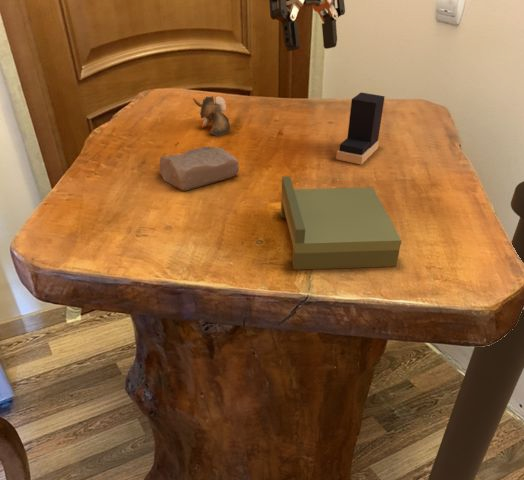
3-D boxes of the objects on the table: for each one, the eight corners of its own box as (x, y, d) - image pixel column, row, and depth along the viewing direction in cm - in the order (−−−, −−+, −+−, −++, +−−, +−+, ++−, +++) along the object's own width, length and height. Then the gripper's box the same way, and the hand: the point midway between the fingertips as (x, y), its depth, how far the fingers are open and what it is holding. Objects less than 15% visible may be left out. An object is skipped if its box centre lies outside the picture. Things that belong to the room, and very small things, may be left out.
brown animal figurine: (184, 117, 115) (192, 123, 107) (199, 84, 113) (209, 87, 105) (215, 135, 118) (226, 142, 111) (231, 103, 116) (242, 108, 109)
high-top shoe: (353, 143, 108) (359, 92, 102) (377, 148, 106) (385, 96, 100) (335, 159, 102) (341, 105, 96) (361, 164, 100) (368, 110, 94)
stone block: (155, 183, 97) (183, 193, 90) (151, 155, 95) (178, 162, 88) (213, 170, 103) (243, 178, 96) (210, 143, 100) (240, 149, 93)
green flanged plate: (369, 211, 87) (375, 174, 83) (396, 266, 75) (404, 226, 71) (280, 213, 86) (282, 176, 82) (293, 269, 74) (296, 229, 70)
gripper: (283, -87, 75) (297, 47, 82) (351, -79, 83) (359, 42, 90) (248, -69, 81) (263, 55, 87) (315, -63, 89) (325, 51, 95)
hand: (312, 49), depth 88 cm, fingers open, 8 cm apart
